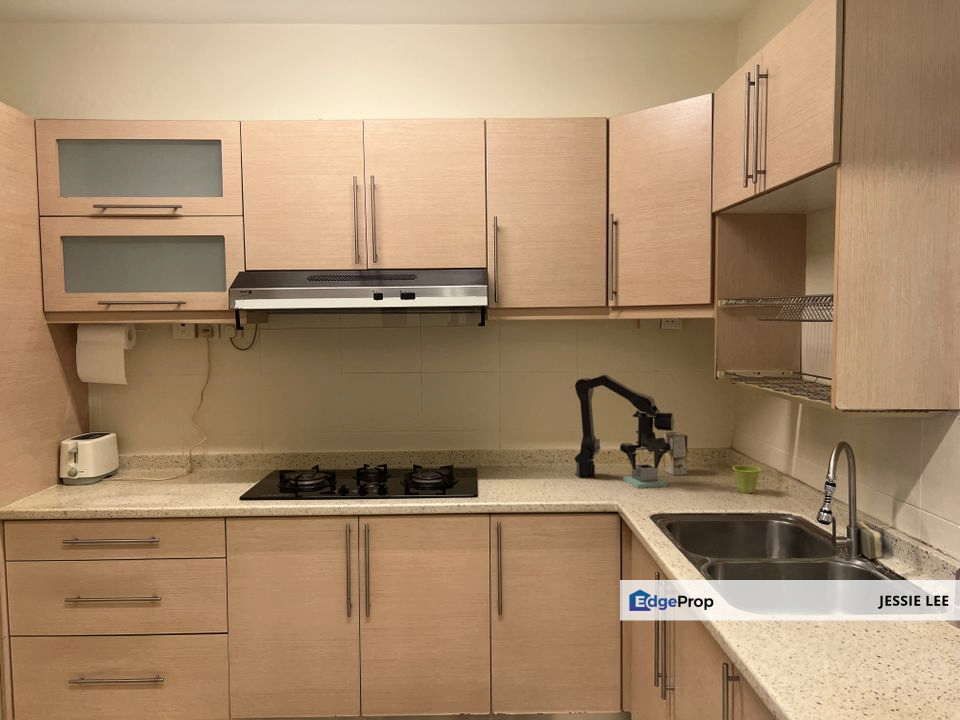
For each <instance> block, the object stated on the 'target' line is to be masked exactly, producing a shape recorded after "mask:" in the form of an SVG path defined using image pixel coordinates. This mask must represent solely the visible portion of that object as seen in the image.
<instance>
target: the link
mask: <svg viewBox="0 0 960 720" xmlns="http://www.w3.org/2000/svg"><path fill="white" fill-rule="evenodd" d="M631 468H632V467H631ZM658 470H659V469H658V468H656V467H655V465H652V464H650V463H642V464H636V468H635V470H633V468H632V469H631V471H632V472H631V476H632V478H634V479H636V480H638V481H639V482H650V481H658V478H659V477H658V476H659V475H658Z"/></svg>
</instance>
